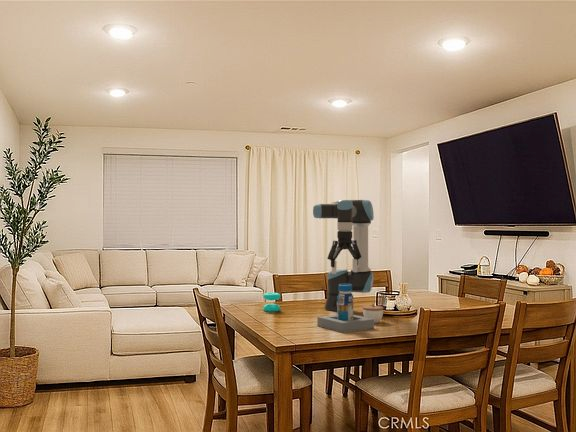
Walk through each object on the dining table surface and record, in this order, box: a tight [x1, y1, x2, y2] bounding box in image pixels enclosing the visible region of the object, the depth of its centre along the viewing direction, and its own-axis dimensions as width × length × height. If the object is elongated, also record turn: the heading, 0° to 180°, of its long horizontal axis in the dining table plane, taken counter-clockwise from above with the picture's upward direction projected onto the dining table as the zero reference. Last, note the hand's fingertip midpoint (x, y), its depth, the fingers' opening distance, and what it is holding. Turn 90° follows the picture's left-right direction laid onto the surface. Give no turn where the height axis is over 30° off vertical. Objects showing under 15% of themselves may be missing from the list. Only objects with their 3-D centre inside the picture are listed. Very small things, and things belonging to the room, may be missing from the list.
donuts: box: [262, 292, 281, 313], centre depth 351 cm, size 10×10×10 cm
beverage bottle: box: [336, 284, 355, 321], centre depth 303 cm, size 8×8×20 cm
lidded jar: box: [362, 303, 384, 324], centre depth 317 cm, size 11×11×9 cm
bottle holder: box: [316, 314, 375, 333], centre depth 302 cm, size 20×20×4 cm
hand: (344, 272), depth 304 cm, fingers open, 13 cm apart
